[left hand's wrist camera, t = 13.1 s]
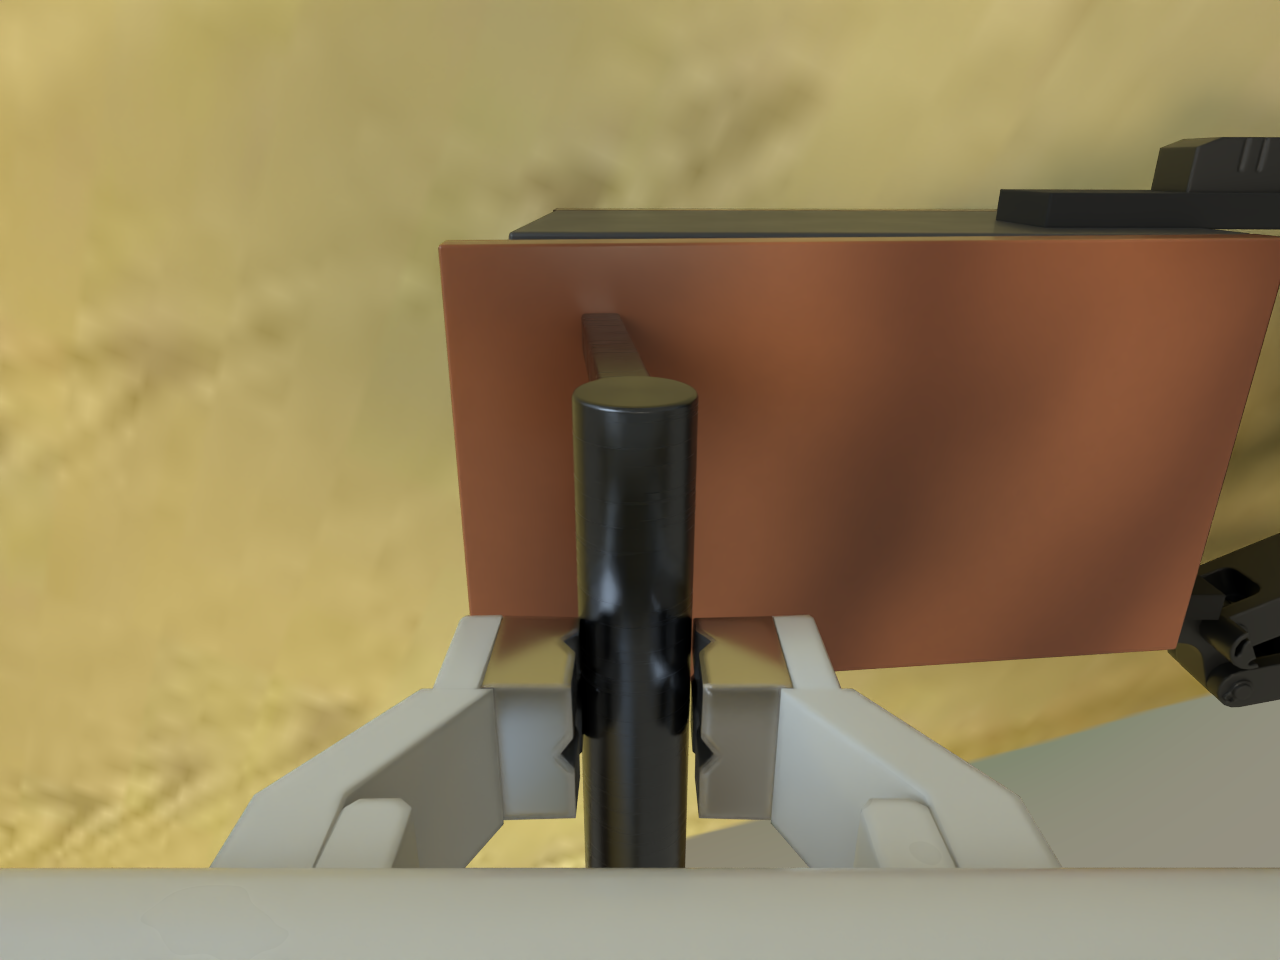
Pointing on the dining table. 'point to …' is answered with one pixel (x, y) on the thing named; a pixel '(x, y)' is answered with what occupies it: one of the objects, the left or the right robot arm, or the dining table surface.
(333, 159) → the dining table surface
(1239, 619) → the right robot arm
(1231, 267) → the lid
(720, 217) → the chest
